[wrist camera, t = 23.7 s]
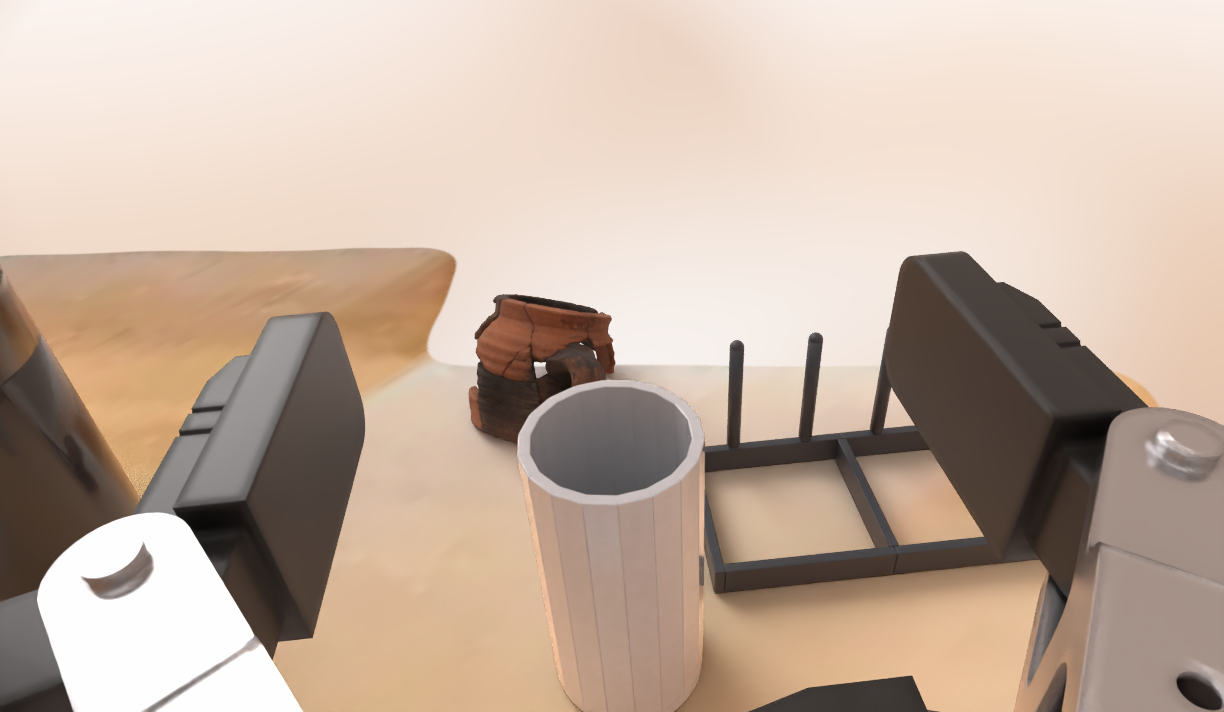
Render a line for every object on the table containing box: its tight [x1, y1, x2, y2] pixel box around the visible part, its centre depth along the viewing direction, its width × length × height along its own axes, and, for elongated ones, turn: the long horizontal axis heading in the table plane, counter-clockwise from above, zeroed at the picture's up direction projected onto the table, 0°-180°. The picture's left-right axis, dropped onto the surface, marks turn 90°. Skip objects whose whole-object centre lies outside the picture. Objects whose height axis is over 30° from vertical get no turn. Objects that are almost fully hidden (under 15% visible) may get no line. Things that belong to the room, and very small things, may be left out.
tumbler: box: [517, 380, 705, 712], centre depth 30 cm, size 6×6×13 cm
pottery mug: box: [469, 294, 615, 443], centre depth 47 cm, size 12×10×8 cm
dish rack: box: [704, 328, 1001, 593], centre depth 38 cm, size 17×9×8 cm, turn 94°
